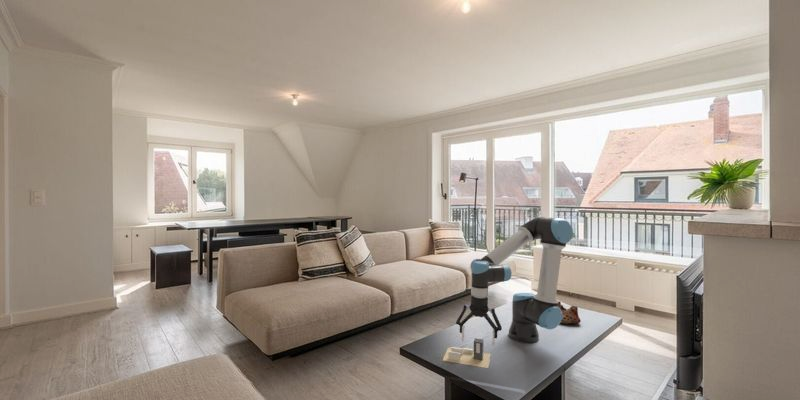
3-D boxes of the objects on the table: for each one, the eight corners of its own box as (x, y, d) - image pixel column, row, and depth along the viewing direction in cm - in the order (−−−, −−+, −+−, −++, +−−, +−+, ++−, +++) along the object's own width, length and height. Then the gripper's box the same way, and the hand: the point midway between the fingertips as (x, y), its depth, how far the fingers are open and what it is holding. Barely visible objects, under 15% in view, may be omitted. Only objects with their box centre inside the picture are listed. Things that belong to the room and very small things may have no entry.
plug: (483, 356, 159) (483, 339, 159) (482, 361, 155) (482, 343, 154) (474, 355, 160) (474, 338, 160) (473, 359, 156) (473, 342, 156)
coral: (542, 303, 220) (565, 296, 221) (550, 324, 218) (573, 317, 218) (554, 306, 203) (578, 299, 203) (562, 329, 200) (587, 321, 200)
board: (490, 356, 162) (490, 347, 162) (488, 370, 149) (488, 360, 149) (448, 349, 168) (448, 340, 168) (442, 362, 155) (442, 353, 155)
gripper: (508, 297, 157) (506, 343, 157) (453, 290, 165) (452, 335, 165) (507, 301, 150) (506, 350, 150) (450, 294, 158) (449, 341, 158)
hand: (477, 342), depth 158 cm, fingers open, 13 cm apart
